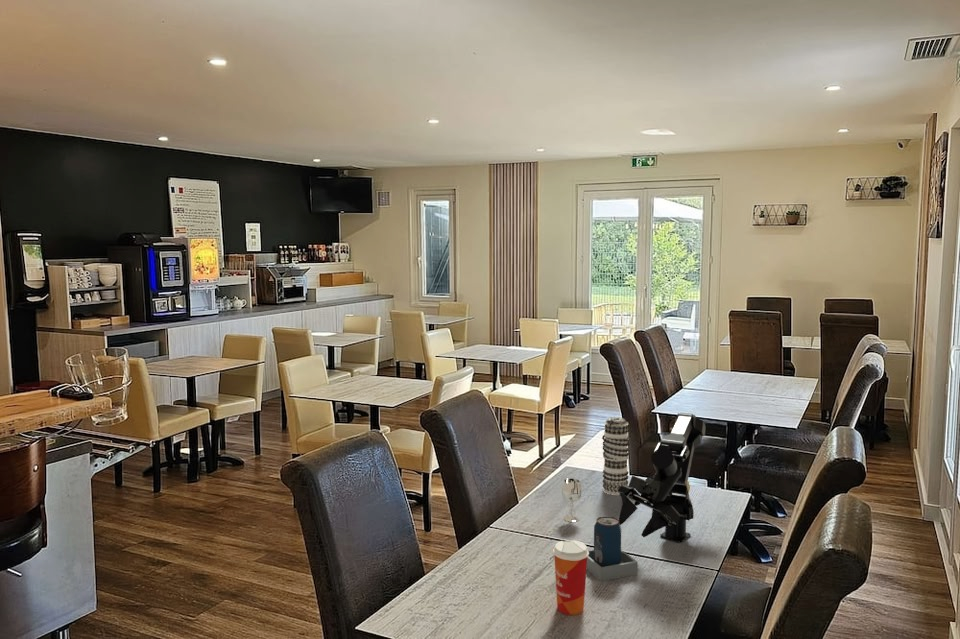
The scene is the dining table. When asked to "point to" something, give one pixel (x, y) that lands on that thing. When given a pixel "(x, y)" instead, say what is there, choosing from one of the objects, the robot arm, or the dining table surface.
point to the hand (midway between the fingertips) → (630, 530)
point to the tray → (612, 567)
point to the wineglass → (571, 495)
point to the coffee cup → (570, 576)
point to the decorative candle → (615, 454)
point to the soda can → (607, 541)
